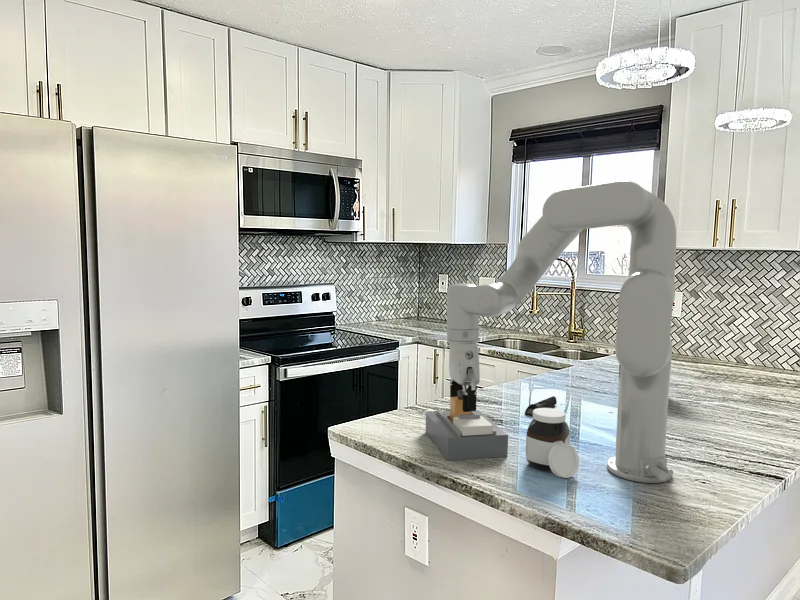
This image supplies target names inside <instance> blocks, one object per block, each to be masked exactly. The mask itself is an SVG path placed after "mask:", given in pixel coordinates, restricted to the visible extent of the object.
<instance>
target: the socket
mask: <svg viewBox="0 0 800 600" xmlns="http://www.w3.org/2000/svg"><path fill="white" fill-rule="evenodd" d="M471 414H480V416H483V417H484V418H485V419H486V420H487V421H488V422H490V423H491V424H492V425H493V434H485V435H469V436H462V435H461V432H460V431H459V430H458V429H457V428H456V427H455V426H454V425H453V423H452V422H451V420H450V411H441V410H440V409H436V412H426V413H425V434H426V435H427V436H428V438H429V437H430V438H429V439H430V440H431V442H432V443H433V442H434V443H433V444H434V445H435V447H436V446H437V447H438V448H437V447H436V448H437V449H438V451H439V452H440V453H441V454H442V456H443V455H444V456H443V457H444V458H445V460H446V459H447V460H449V461H459V460H462V459H463V460H476V458H478V459H489V458H490V459H491V458H492V459H493V458H503V457H504V458H505V457H508V450H509V449H508V448H509V434H508V432H505V430H503V429H502V428H501V427H499V426H498V425H497V424H496V423H495V422H494V421H493V420H491V419H490V418H489V417H488V416H487V415H485V413H483V412H482V411H480V410H477V409H476V411H471ZM447 460H446V461H447Z"/></svg>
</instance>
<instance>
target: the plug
mask: <svg viewBox="0 0 800 600" xmlns="http://www.w3.org/2000/svg"><path fill="white" fill-rule="evenodd" d="M463 395H464V391H463V390H458V395H457V397H450V396H449V400H450V402H449V403H450V404H449V405H450V407H449V408H450V409H449V412H450V420H451V422H452V423H453V417H458V415H464V414H471V412H464V411H463Z"/></svg>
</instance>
